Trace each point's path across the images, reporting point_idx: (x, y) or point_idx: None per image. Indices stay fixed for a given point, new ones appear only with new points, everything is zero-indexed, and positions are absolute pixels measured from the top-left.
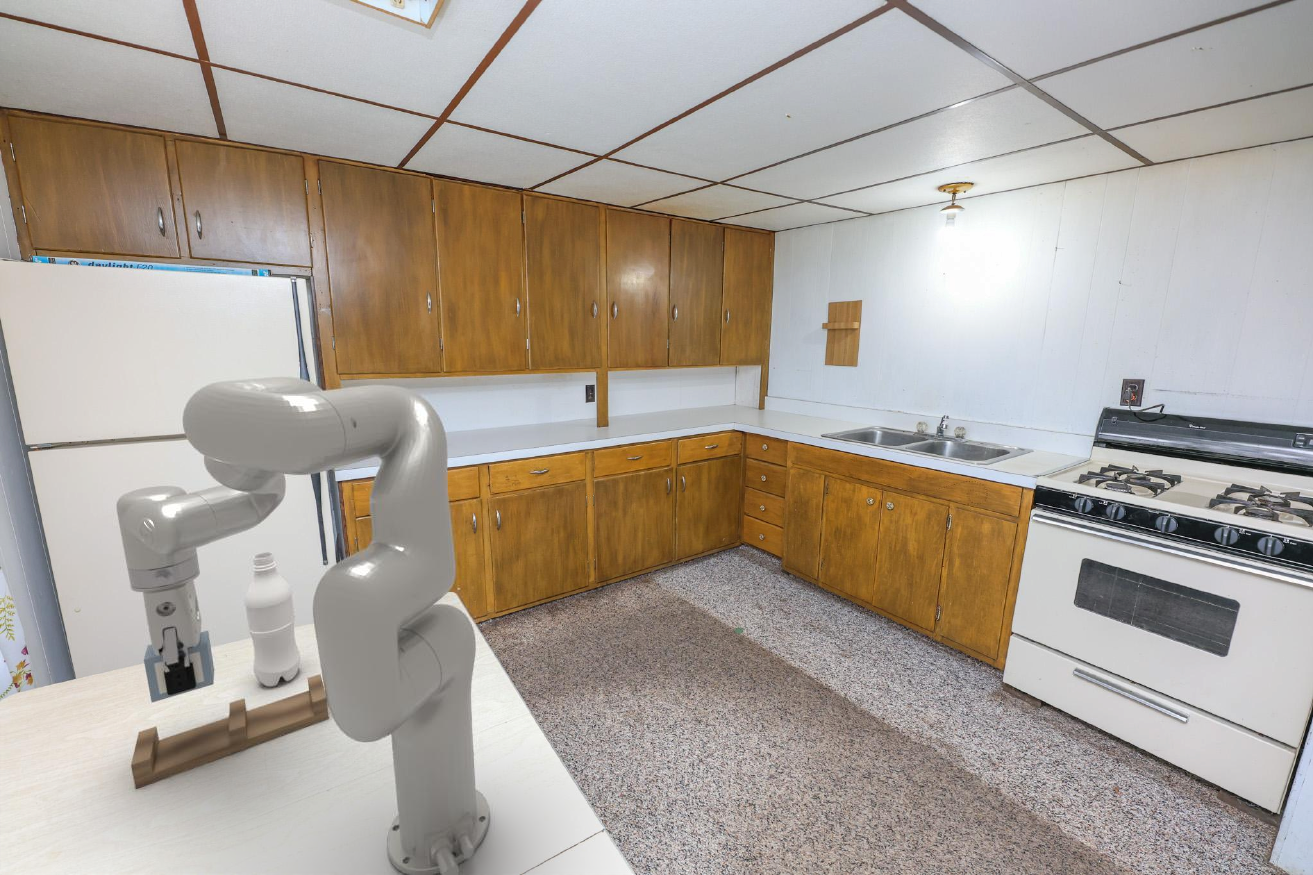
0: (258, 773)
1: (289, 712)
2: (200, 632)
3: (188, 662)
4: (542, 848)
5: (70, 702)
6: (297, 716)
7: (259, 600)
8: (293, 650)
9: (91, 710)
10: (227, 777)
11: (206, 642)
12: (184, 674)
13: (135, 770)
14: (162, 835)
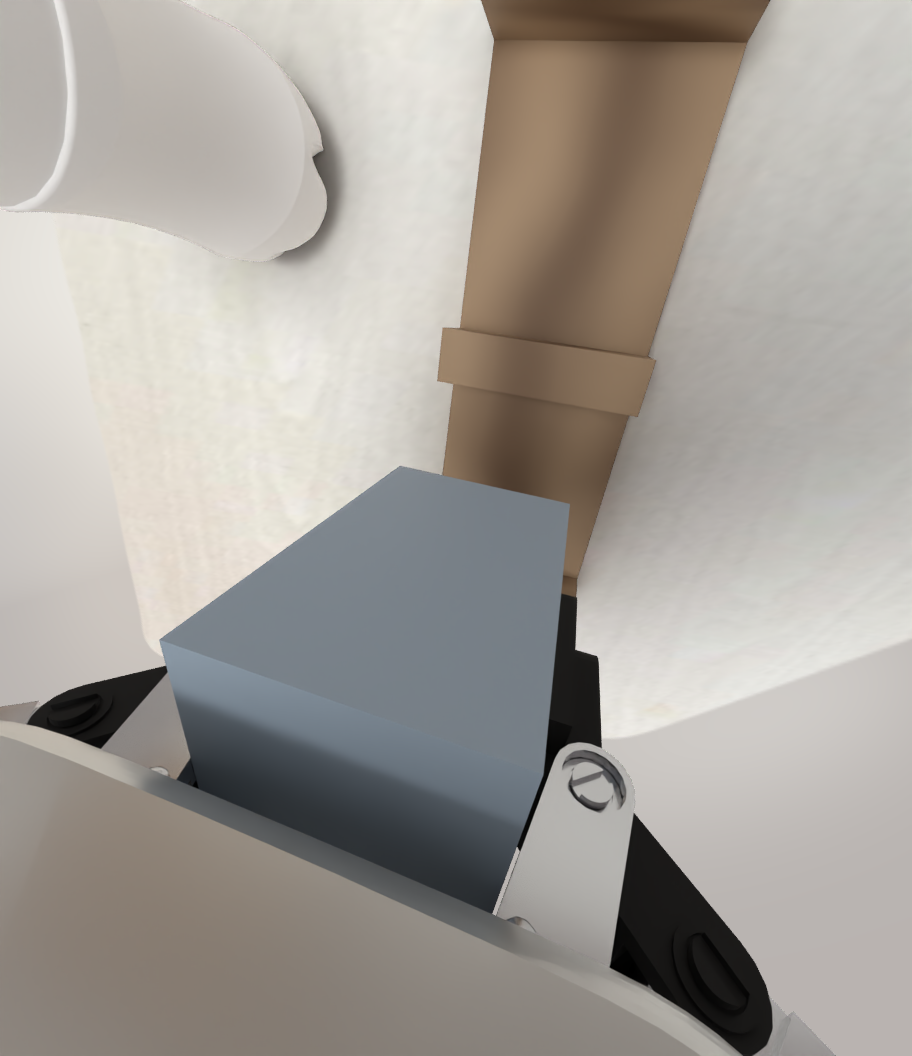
0: (838, 353)
1: (605, 169)
2: (303, 881)
3: (629, 812)
4: None
5: (167, 604)
6: (673, 136)
7: None
8: (199, 19)
9: (210, 588)
10: (746, 435)
11: (505, 766)
12: (599, 730)
13: None
14: (833, 595)
